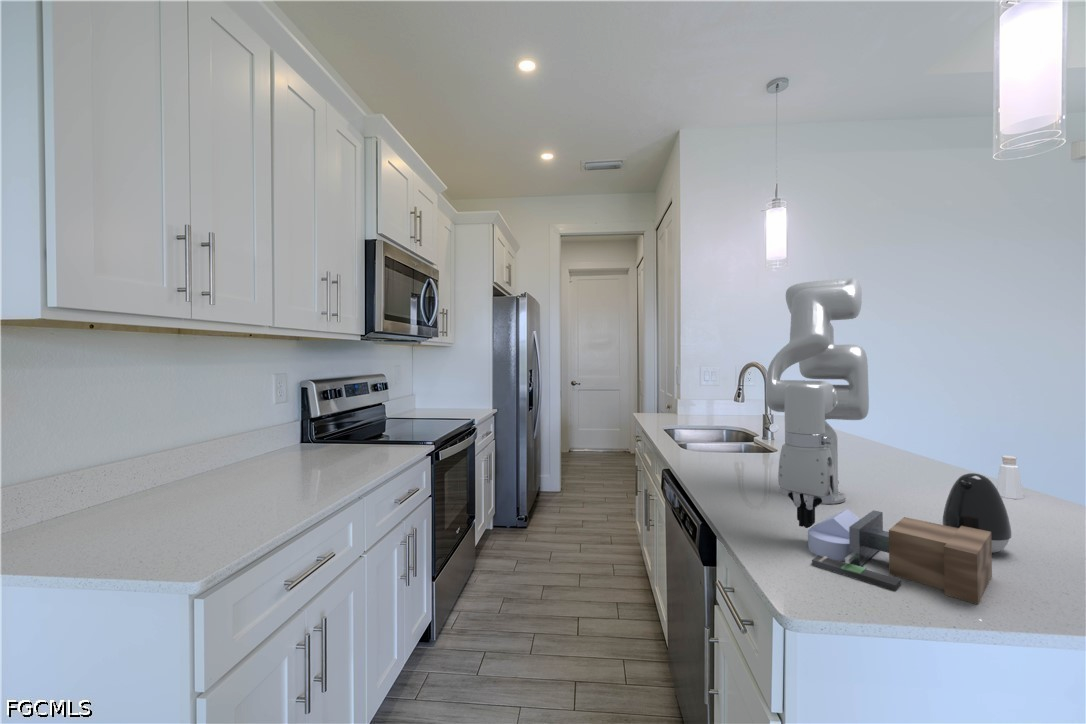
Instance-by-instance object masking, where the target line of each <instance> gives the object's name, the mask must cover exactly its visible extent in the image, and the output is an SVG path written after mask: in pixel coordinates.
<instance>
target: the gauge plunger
mask: <svg viewBox="0 0 1086 724" xmlns="http://www.w3.org/2000/svg"><path fill="white" fill-rule="evenodd" d="M883 514H884V513H883V511H879V510H875V509H874V510H871V511H870V512H868V513H867V514H866V515H864V516H863V517H861V518H859V519H860V520H859V521H857V522H856V523H854V524H853V525H851V526H850V527H849V543H850V555H848V556H847V557H846V558H845V561H844V563H848V564H849V563H850V564H853V565H857V566H860V567H862V566H863V564H865V563H866V562H867V561H869V559H870V558H872V557H873V556H874V555H875V554H876V553H877V552H878V551H880V552H883V553H887V554H889V531H885V530H884V520H883V519H884V517H883V516H884V515H883Z"/></svg>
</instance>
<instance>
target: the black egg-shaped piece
mask: <svg viewBox="0 0 1086 724" xmlns="http://www.w3.org/2000/svg"><path fill="white" fill-rule="evenodd" d="M1009 517H1010V516H1009V514H1008V511H1007V508H1006V506H1005V502H1004V500H1003V497H1001V496H1000V494H999V492H998V490H997V486H996V485H995V484H994V483H993V481H991V480H990V478H988V477H986V476H985V475H982V474H980V473H974V472H971V473H970V472H969V473H965V474H962V475H961V476H959V477H958V478H957V479H956V481H955V482H953V485H952V487H951V489H950V491H949V494H948V497H947V499H946V502H945V505H944V508H943V514H942V525H945V526H950V527H955V528H960V527H961V526H965V527H970V528H975V529H980V530H985V531H990V532H991V539H992V554H994V553H997V552H1000V551H1003V550H1004V549H1005V548H1006V547H1007V545H1008V543H1009V541H1010V539H1011V538H1012V534H1013V533H1012V526H1011V522H1010V518H1009Z"/></svg>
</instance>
